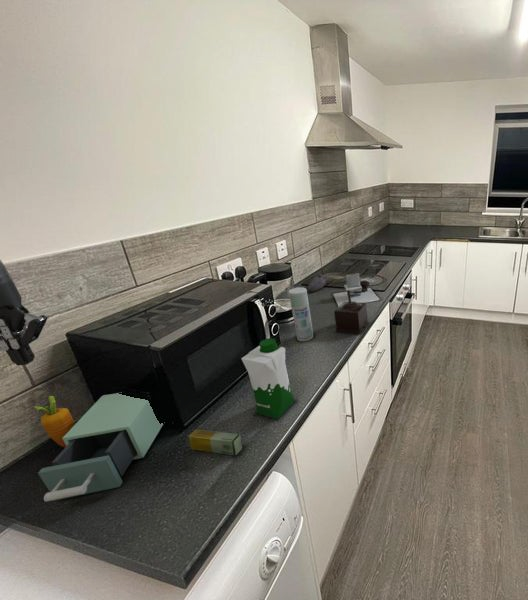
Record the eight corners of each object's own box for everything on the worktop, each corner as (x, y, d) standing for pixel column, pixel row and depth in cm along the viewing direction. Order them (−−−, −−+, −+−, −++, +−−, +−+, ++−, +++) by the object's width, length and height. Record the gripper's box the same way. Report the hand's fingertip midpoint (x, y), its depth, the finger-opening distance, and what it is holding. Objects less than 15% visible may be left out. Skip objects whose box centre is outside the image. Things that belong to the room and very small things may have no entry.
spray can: (297, 342, 123) (288, 294, 116) (296, 335, 129) (288, 288, 121) (314, 339, 125) (307, 291, 118) (313, 332, 131) (305, 286, 123)
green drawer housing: (143, 457, 75) (128, 426, 72) (80, 470, 73) (61, 438, 69) (168, 415, 88) (157, 386, 85) (116, 424, 86) (102, 395, 82)
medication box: (243, 447, 77) (241, 433, 76) (236, 456, 75) (233, 441, 73) (198, 442, 79) (195, 428, 78) (190, 450, 76) (187, 436, 75)
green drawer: (107, 506, 64) (92, 478, 61) (38, 521, 61) (18, 493, 58) (149, 438, 80) (138, 413, 77) (96, 448, 77) (82, 423, 74)
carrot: (67, 459, 76) (37, 409, 70) (54, 454, 77) (24, 404, 71) (92, 443, 80) (65, 395, 74) (79, 439, 81) (52, 391, 76)
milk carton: (298, 400, 92) (287, 340, 85) (277, 422, 84) (262, 358, 77) (274, 394, 95) (260, 335, 87) (251, 415, 87) (234, 352, 80)
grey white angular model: (379, 299, 160) (378, 278, 156) (338, 306, 154) (336, 284, 150) (370, 288, 177) (368, 267, 173) (332, 293, 171) (330, 273, 166)
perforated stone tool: (313, 294, 170) (311, 282, 168) (304, 293, 172) (303, 281, 170) (328, 285, 183) (327, 273, 180) (321, 284, 185) (319, 273, 182)
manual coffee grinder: (361, 334, 128) (357, 292, 121) (335, 332, 130) (330, 290, 123) (373, 317, 142) (370, 279, 135) (350, 315, 144) (346, 278, 137)
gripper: (39, 272, 63) (76, 348, 70) (-45, 280, 60) (2, 358, 67) (6, 285, 56) (51, 367, 63) (-90, 293, 54) (-33, 379, 60)
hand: (25, 362), depth 65 cm, fingers closed
